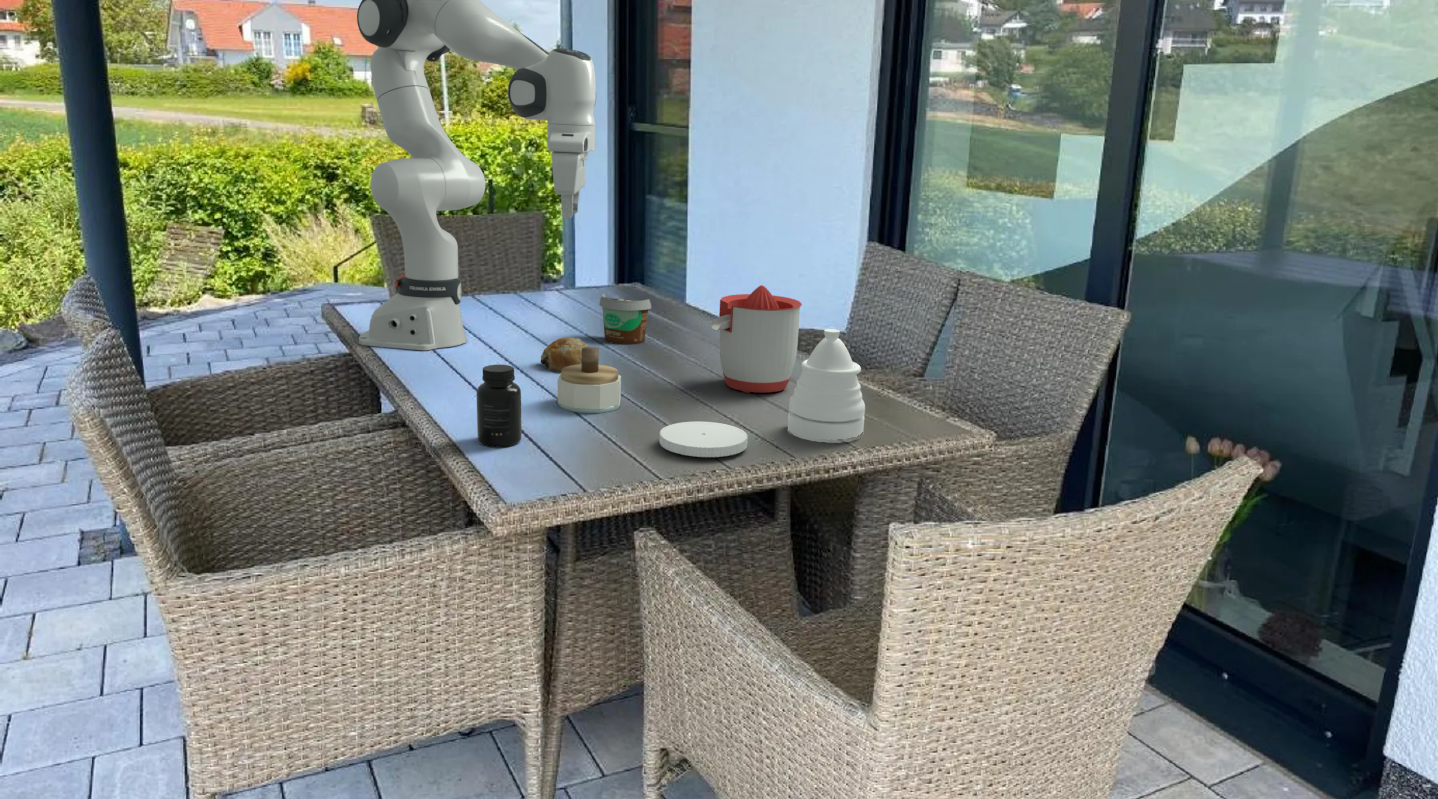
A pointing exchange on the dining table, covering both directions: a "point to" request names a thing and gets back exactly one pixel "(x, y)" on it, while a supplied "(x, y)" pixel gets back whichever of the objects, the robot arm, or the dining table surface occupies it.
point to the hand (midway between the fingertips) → (570, 215)
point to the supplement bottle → (498, 407)
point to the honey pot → (827, 393)
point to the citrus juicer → (758, 340)
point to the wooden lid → (589, 370)
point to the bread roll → (563, 353)
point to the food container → (625, 320)
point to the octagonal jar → (589, 396)
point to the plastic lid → (703, 439)
